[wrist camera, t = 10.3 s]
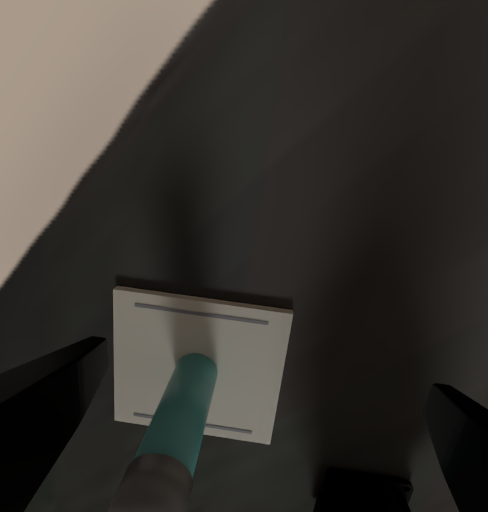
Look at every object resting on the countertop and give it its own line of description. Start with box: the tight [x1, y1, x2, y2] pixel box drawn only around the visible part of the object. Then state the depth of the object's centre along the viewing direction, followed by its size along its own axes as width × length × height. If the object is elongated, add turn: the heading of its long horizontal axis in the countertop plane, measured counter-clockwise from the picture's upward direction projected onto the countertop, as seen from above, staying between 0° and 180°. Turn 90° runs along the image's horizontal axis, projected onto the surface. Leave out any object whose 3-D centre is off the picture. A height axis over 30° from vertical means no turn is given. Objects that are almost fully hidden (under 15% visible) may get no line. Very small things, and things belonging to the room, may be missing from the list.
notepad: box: [113, 286, 293, 445], centre depth 23 cm, size 12×11×1 cm
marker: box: [107, 353, 218, 512], centre depth 18 cm, size 3×3×10 cm
